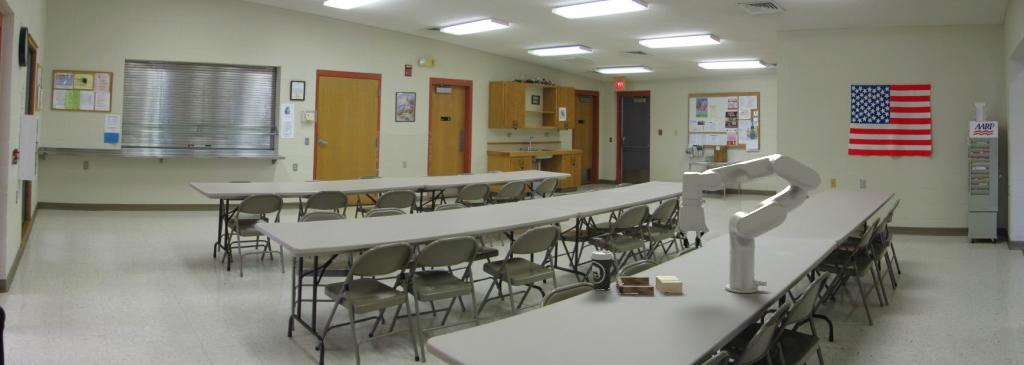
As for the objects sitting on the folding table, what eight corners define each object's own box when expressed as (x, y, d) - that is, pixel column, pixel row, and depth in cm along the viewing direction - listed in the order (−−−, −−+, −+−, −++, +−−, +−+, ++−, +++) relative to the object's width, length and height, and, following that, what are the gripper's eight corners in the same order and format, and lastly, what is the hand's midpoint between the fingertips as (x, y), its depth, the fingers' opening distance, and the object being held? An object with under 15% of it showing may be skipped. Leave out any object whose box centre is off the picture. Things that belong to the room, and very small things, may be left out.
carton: (674, 286, 274) (675, 275, 274) (682, 293, 262) (682, 281, 262) (655, 286, 274) (655, 275, 274) (662, 293, 262) (662, 282, 262)
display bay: (648, 283, 278) (648, 276, 278) (653, 294, 260) (653, 286, 260) (616, 283, 279) (616, 276, 279) (619, 294, 261) (619, 286, 261)
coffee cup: (613, 291, 265) (613, 254, 264) (589, 290, 267) (589, 254, 266) (614, 286, 274) (614, 250, 273) (591, 285, 276) (591, 250, 275)
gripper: (710, 201, 268) (710, 246, 269) (669, 201, 269) (669, 246, 270) (714, 203, 260) (714, 249, 262) (672, 203, 262) (672, 249, 263)
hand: (691, 247), depth 266 cm, fingers open, 3 cm apart
